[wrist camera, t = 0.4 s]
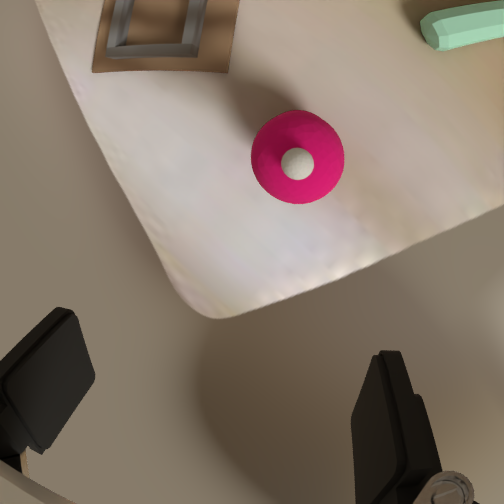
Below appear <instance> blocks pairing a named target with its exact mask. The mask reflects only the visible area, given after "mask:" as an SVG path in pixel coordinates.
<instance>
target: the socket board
mask: <svg viewBox="0 0 504 504" xmlns="http://www.w3.org/2000/svg"><path fill="white" fill-rule="evenodd" d="M239 1H240V0H105V3H104V8H103V12H102V17H101V21H100V26H99V32H98V37H97V42H96V48H95V55H94V61H93V68H92V73H102V72H118V71H147V70H173V71H202V72H219V73H228V67H229V61H230V54H231V48H232V42H233V36H234V30H235V24H236V18H237V12H238V6H239Z"/></svg>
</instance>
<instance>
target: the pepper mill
mask: <svg viewBox="0 0 504 504" xmlns="http://www.w3.org/2000/svg"><path fill="white" fill-rule="evenodd" d="M251 164H252V168H253V172H254V174H255V177H256V179H257V181H258V182H259V184H260V185H261V186H262V187H263V188H264V189H265V190H266V191H267V192H268V193H269V194H270V195H272V196H273V197H275V198H277V199H279V200H281V201H284V202H287V203H292V204H305V203H311V202H313V201H316V200H318V199H320V198H322V197H324V196H325V195H327V194H328V193H329V192H330V191H331V190H332V189H333V188H334V187H335V186H336V184H337V183H338V181H339V179H340V177H341V175H342V172H343V168H344V150H343V146H342V143H341V140H340V138H339V136H338V134H337V133H336V132H335V130H334V129H333V128H332V127H331V126H330V125H329V124H328V123H327V122H325V121H324V120H322V119H321V118H320V117H318V116H317V115H315V114H313V113H311V112H307V111H302V110H293V111H288V112H285V113H282V114H280V115H278V116H276V117H275V118H273V119H271V120H270V121H268V122H267V123H266V124H265V125H264V126H263V127H262V128H261V129H260V131H259V132H258V134H257V135H256V137H255V139H254V142H253V145H252V151H251Z"/></svg>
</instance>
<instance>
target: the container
mask: <svg viewBox="0 0 504 504" xmlns="http://www.w3.org/2000/svg"><path fill="white" fill-rule="evenodd" d="M420 26H421V32H422V34H423V36H424V38H425V40H426V42H427V43H428V44H429V45H430V46H431V47H432V48H433V49H434V50H439V51H446V50H450V49H453V48H457V47H461V46H465V45H469V44H473V43H478V42H482V41H486V40H491V39H496V38H501V37H504V0H500V1H492V2H484V3H477V4H471V5H465V6H459V7H454V8H448V9H443V10H439V11H434V12H430V13H429V14H427V15H426V16H425V17H424V18H423V19H422V20H421V21H420Z"/></svg>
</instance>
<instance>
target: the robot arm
mask: <svg viewBox="0 0 504 504" xmlns="http://www.w3.org/2000/svg"><path fill="white" fill-rule="evenodd" d="M94 380H95V372H94V369H93V366H92V363H91V360H90V357H89V354H88V351H87V348H86V344H85V341H84V338H83V334H82V331H81V328H80V324H79V320H78V318H77V316H76V315H75V313H74V312H73V311H72V310H70V309H65V308H62V307H56V308H55V309H54V310H53V311H52V312H50V313H49V314H48V315H47V316H46V317H45V318H44V319H43V320H42V321H41V322H40V323H39V324H38V325H36V327H34V328H33V329H32V330H31V331H30V332H29V333H28V334H27V335H26V336H25V337H24V338H23V339H22V340H21V341H20V342H19V343H18V344H17V345H16V346H15V347H14V348H13V349H12V350H11V351H10V352H9V353H8V354H7V355H6V356H5V357H4V358H3V359H2V360H1V361H0V504H76V503H74V502H72V501H70V500H68V499H66V498H64V497H62V496H60V495H58V494H56V493H54V492H52V491H51V490H49V489H47V488H45V487H43V486H41V485H40V484H38V483H36V482H35V481H33V480H31V479H30V478H29V471H28V464H27V457H26V447H27V446H29V447H30V449H32V450H34V451H36V452H37V453H39V454H41V455H42V454H43V452H44V451H45V449H48V448H50V446H51V445H52V443H53V442H54V440H55V439H56V437H57V436H58V434H59V433H60V431H61V430H62V428H63V427H64V425H65V424H66V422H67V421H68V419H69V418H70V416H71V415H72V413H73V412H74V410H75V409H76V407H77V406H78V404H79V403H80V401H81V400H82V399H83V397H84V396H85V394H86V393H87V391H88V390H89V388H90V387H91V385H92V384H93V383H94ZM351 431H352V443H353V459H354V476H355V496H356V498H355V499H356V504H479V503H477V502H476V501H474V489H473V486H472V483H471V482H470V481H469V479H468V478H467V477H465V476H464V475H463V474H461V473H458V472H455V471H442V467H441V463H440V459H439V455H438V451H437V448H436V444H435V440H434V437H433V433H432V429H431V426H430V422H429V419H428V415H427V412H426V409H425V405H424V402H423V399H422V397H421V396H420V395H419V394H414V392H413V389H412V386H411V382H410V379H409V376H408V373H407V370H406V367H405V364H404V361H403V358H402V355H401V352H400V351H387V350H386V351H385V350H382V351H380V352H379V354H378V355H374V356H373V357H372V359H371V363H370V366H369V369H368V371H367V374H366V377H365V381H364V383H363V386H362V389H361V391H360V394H359V397H358V400H357V402H356V405H355V407H354V410H353V413H352V416H351Z"/></svg>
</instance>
